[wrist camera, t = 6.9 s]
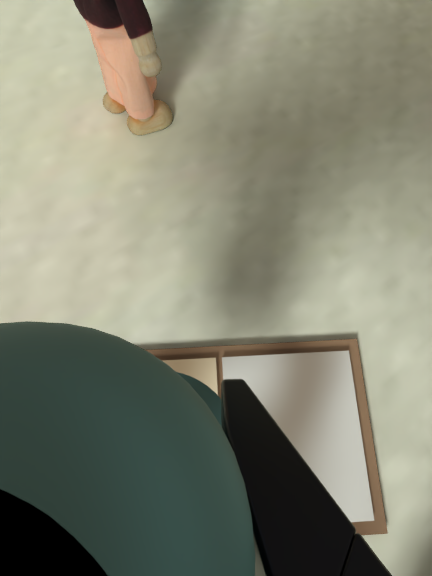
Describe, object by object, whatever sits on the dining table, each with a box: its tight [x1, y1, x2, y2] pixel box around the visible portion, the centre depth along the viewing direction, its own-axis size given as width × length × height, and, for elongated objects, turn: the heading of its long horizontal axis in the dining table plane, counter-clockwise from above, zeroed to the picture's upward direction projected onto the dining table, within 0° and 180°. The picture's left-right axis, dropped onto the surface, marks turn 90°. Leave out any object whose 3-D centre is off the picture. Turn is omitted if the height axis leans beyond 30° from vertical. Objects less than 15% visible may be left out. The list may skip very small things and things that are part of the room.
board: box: [146, 339, 387, 535], centre depth 19 cm, size 20×9×1 cm, turn 93°
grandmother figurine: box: [74, 0, 173, 135], centre depth 19 cm, size 8×4×13 cm, turn 53°
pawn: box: [0, 322, 255, 576], centre depth 7 cm, size 5×5×12 cm
